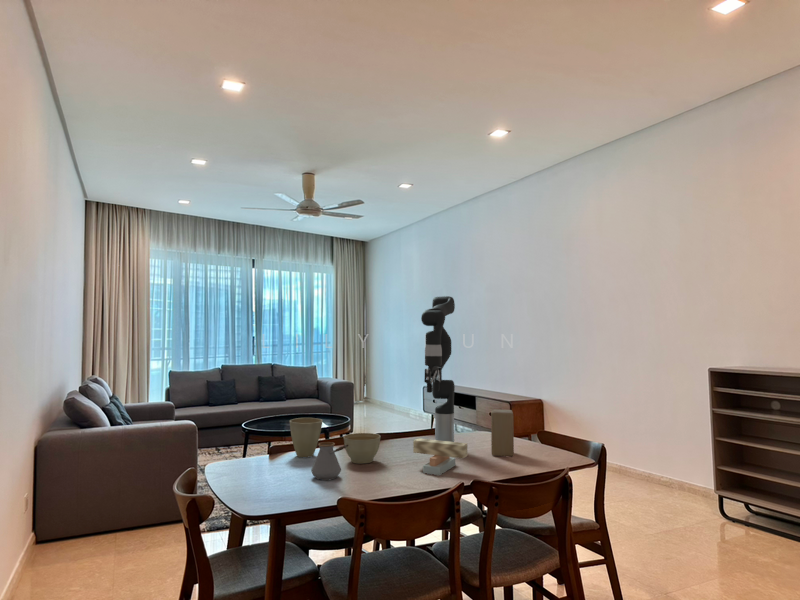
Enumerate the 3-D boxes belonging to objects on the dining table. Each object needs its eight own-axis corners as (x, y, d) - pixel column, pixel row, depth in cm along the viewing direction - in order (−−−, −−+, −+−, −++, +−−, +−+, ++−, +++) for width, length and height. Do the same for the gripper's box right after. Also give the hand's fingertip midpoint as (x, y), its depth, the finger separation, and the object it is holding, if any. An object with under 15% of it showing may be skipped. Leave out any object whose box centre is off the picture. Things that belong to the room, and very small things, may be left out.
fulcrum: (440, 463, 218) (440, 449, 219) (455, 465, 215) (455, 450, 216) (423, 473, 202) (423, 457, 203) (439, 475, 199) (439, 459, 200)
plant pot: (291, 460, 221) (291, 423, 222) (286, 453, 235) (287, 418, 236) (324, 458, 226) (325, 422, 227) (318, 451, 240) (319, 417, 241)
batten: (467, 455, 207) (467, 443, 207) (463, 458, 202) (463, 445, 202) (418, 450, 216) (418, 438, 217) (413, 452, 212) (413, 440, 212)
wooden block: (512, 452, 240) (512, 409, 241) (513, 457, 230) (513, 412, 231) (491, 451, 241) (491, 409, 243) (491, 456, 231) (491, 412, 233)
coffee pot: (305, 476, 196) (306, 437, 197) (331, 471, 204) (331, 434, 205) (334, 490, 180) (334, 447, 181) (361, 484, 187) (361, 442, 188)
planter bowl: (371, 455, 231) (371, 431, 232) (386, 463, 217) (386, 437, 218) (338, 459, 224) (338, 434, 225) (351, 467, 210) (351, 441, 211)
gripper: (435, 355, 218) (434, 393, 217) (446, 354, 231) (446, 390, 230) (419, 355, 222) (419, 392, 220) (431, 354, 234) (431, 389, 233)
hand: (433, 391), depth 225 cm, fingers open, 8 cm apart
